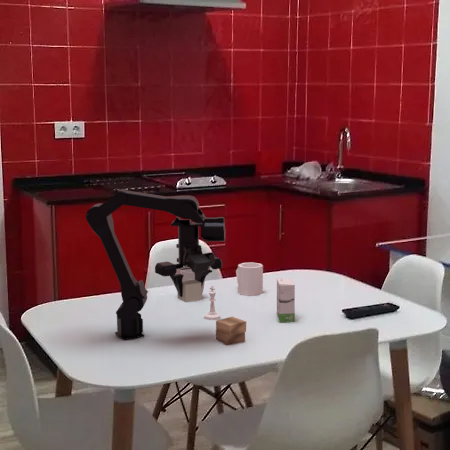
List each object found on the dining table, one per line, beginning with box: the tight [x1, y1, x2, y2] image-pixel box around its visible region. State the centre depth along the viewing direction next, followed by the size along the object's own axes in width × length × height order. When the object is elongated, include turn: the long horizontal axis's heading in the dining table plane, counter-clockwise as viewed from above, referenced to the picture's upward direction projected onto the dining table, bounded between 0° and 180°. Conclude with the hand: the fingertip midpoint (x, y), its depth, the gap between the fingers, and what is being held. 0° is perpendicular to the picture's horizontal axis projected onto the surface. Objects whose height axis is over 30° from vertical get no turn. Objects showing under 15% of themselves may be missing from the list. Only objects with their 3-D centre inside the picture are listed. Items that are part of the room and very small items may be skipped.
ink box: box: [276, 277, 296, 323], centre depth 233 cm, size 9×5×12 cm, turn 2°
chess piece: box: [204, 285, 221, 321], centre depth 234 cm, size 5×5×10 cm
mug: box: [235, 261, 264, 297], centre depth 263 cm, size 12×9×10 cm
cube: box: [176, 279, 202, 303], centre depth 215 cm, size 5×5×5 cm
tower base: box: [215, 330, 246, 346], centre depth 214 cm, size 6×6×3 cm
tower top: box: [215, 316, 247, 336], centre depth 213 cm, size 6×6×3 cm
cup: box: [181, 269, 206, 298], centre depth 255 cm, size 8×8×10 cm
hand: (189, 295), depth 215 cm, fingers closed on cube, 5 cm apart
